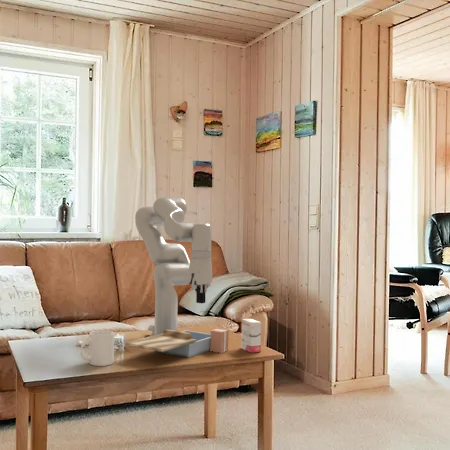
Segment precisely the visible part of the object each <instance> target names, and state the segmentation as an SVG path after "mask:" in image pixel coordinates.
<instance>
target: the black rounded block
mask: <svg viewBox="0 0 450 450" xmlns="http://www.w3.org/2000/svg"><path fill="white" fill-rule="evenodd" d="M88 338H89V335H87V339H88ZM84 341H85V340H84ZM84 341H83V340H79V341H78V342H77V345H78V346H80V347H82V344H83V343H84ZM87 345H88V346H87ZM83 348H88V349H89V343H88V344H86V345H85V346H84V347H83Z"/></svg>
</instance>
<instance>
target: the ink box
mask: <svg viewBox="0 0 450 450" xmlns="http://www.w3.org/2000/svg"><path fill="white" fill-rule="evenodd" d="M240 336H241V337H240V349H242V350H244V351H246V352H248V353H250V354H251V353H260V352H261V347H262V346H261V345H262V344H261V343H262V340H261V339H262V322H261V321H259V320H255V319H254V318H242V319H241V335H240Z"/></svg>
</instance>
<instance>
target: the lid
mask: <svg viewBox="0 0 450 450" xmlns="http://www.w3.org/2000/svg"><path fill="white" fill-rule="evenodd" d="M191 335H192V333H187V332H181V331H179V330H177V331H174V330H168V329H165V330H164V334H158V335H154V336H151V335H150V336H147V337H144V338H138V339H134V340H131V341H126V343H125V345H126V346H130V347H134V348H141V349H147V350H151V351H155V350H156V351H161V352H160V353H162V352H163V351H167V350H170V349H173V348H177V347H180V346H183V345H187V344H190V343H193V342H197V339H192V338H191ZM156 351H155V352H156Z"/></svg>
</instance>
